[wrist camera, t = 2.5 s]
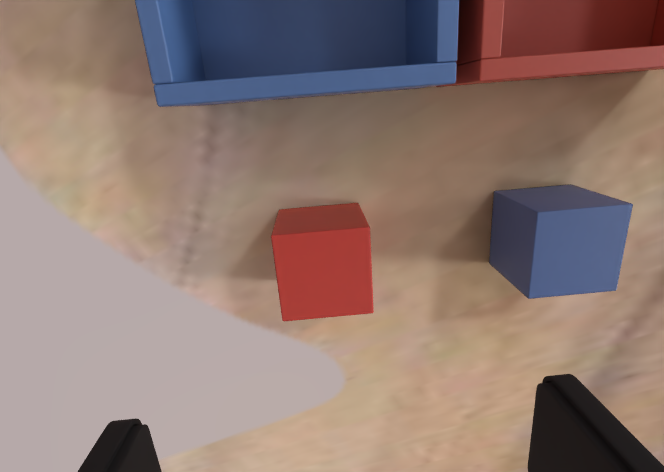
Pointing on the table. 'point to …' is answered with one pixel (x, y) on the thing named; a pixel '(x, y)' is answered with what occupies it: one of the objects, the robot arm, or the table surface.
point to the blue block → (558, 239)
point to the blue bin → (295, 48)
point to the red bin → (556, 38)
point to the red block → (323, 261)
